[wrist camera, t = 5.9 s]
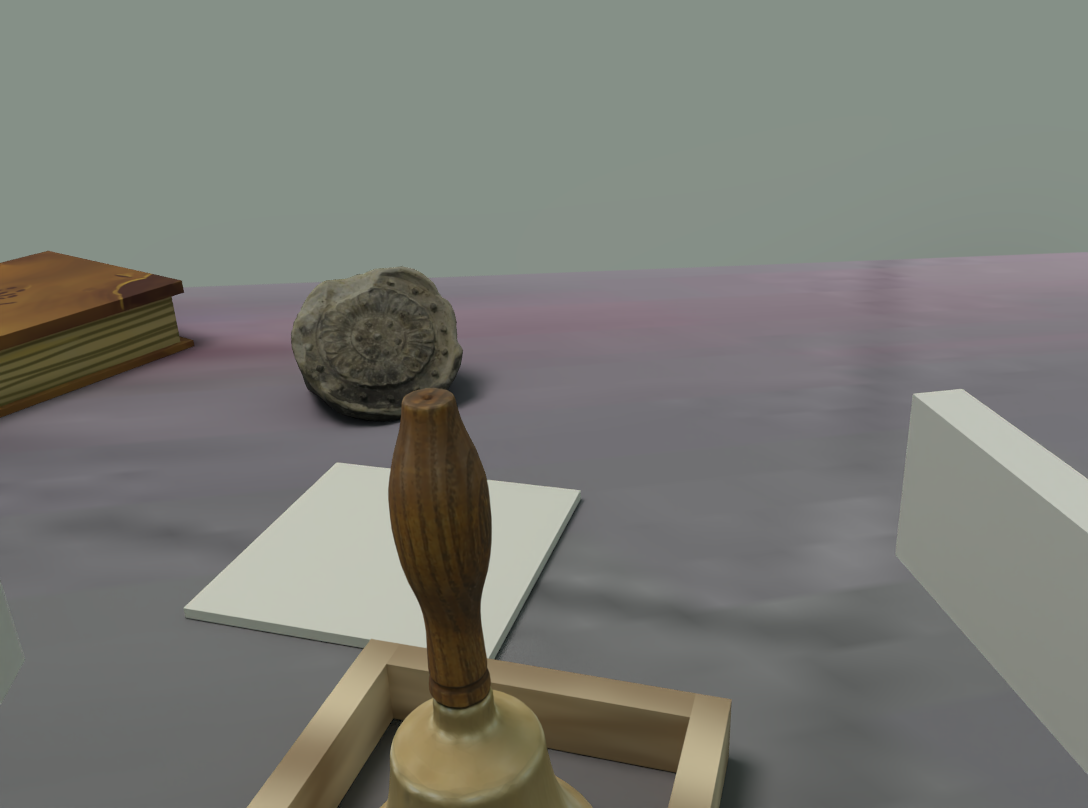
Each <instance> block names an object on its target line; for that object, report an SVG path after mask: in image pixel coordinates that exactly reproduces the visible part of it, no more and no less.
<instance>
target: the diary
mask: <svg viewBox="0 0 1088 808" xmlns="http://www.w3.org/2000/svg"><path fill="white" fill-rule="evenodd" d="M181 293H184V290H183V285H182V281H181V280H177V279H172V278H167V277H163V276H159V275H154V274H150V273H145V272H141V271H136V270H132V269H127V268H123V267H118V266H114V265H109V264H104V263H100V262H96V261H91V260H87V259H82V258H78V257H73V256H69V255H64V254H59V253H55V252H50V251H46V252H42V253H38V254H34V255H30V256H26V257H22V258H18V259H14V260H10V261H6V262H2V263H0V418H1V417H3V416H6V415H9V414H11V413H14V412H17V411H19V410H22V409H25V408H28V407H30V406H33V405H36V404H38V403H41V402H44V401H47V400H49V399H52V398H55V397H57V396H60V395H63V394H65V393H68V392H71V391H74V390H76V389H79V388H82V387H84V386H87V385H90V384H93V383H95V382H98V381H101V380H103V379H106V378H109V377H111V376H114V375H117V374H120V373H122V372H125V371H128V370H130V369H133V368H136V367H139V366H141V365H144V364H147V363H149V362H152V361H155V360H158V359H160V358H163V357H166V356H168V355H171V354H174V353H176V352H179V351H182V350H185V349H187V348H190V347H193V346H194V342H193V340H191V339H187V338H183V337H180V336H179V332H178V327H177V322H176V317H175V312H174V307H173V302H172V297H171V296H174V295H177V294H181Z"/></svg>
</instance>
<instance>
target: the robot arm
mask: <svg viewBox="0 0 1088 808" xmlns="http://www.w3.org/2000/svg"><path fill="white" fill-rule="evenodd" d="M895 555H896V556H897V557H898V558H899V560H900V561H901V562H902V563H903V564H904V565H905V566H906V568H907V569H908V570H909V571H910V572H911V573H912V574H913V576H914V577H915V578H916V579H917V580H918V581H919V582H920V584H921V585H922V586H923V587H924V588H925V589H926V590H927V592H928V593H929V594H930V595H931V596H932V597H933V598H934V600H935V601H936V602H937V603H938V604H939V605H940V606H941V608H942V609H943V610H944V611H945V612H946V613H947V614H948V616H949V617H950V618H951V619H952V620H953V621H954V622H955V624H956V625H957V626H958V627H959V628H960V629H961V630H962V632H963V633H964V634H965V635H966V636H967V637H968V638H969V640H970V641H971V642H972V643H973V644H974V645H975V646H976V648H977V649H978V650H979V651H980V652H981V653H982V654H983V656H984V657H985V658H986V659H987V660H988V661H989V662H990V664H991V665H992V666H993V667H994V668H995V669H996V670H997V672H998V673H999V674H1000V675H1001V676H1002V677H1003V678H1004V680H1005V681H1006V682H1007V683H1008V684H1009V685H1010V686H1011V688H1012V689H1013V690H1014V691H1015V692H1016V693H1017V694H1018V696H1019V697H1020V698H1021V699H1022V700H1023V701H1024V702H1025V704H1026V705H1027V706H1028V707H1029V708H1030V709H1031V710H1032V712H1033V713H1034V714H1035V715H1036V716H1037V717H1038V718H1039V720H1040V721H1041V722H1042V723H1043V724H1044V725H1045V726H1046V728H1047V729H1048V730H1049V731H1050V732H1051V733H1052V734H1053V736H1054V737H1055V738H1056V739H1057V740H1058V741H1059V742H1060V744H1061V745H1062V746H1063V747H1064V748H1065V749H1066V750H1067V752H1068V753H1069V754H1070V755H1071V756H1072V757H1073V758H1074V760H1075V761H1076V762H1077V763H1078V764H1079V765H1080V766H1081V768H1082V769H1083V770H1084V771H1085V772H1086V773H1087V774H1088V479H1087V478H1086V477H1084V476H1083V475H1081V474H1080V473H1079V472H1077V471H1076V470H1074V469H1073V468H1072V467H1070V466H1069V465H1067V464H1066V463H1065V462H1063V461H1062V460H1061V459H1059V458H1058V457H1056V456H1055V455H1054V454H1052V453H1051V452H1049V451H1048V450H1047V449H1045V448H1044V447H1042V446H1041V445H1040V444H1038V443H1037V442H1035V441H1034V440H1033V439H1031V438H1030V437H1028V436H1027V435H1026V434H1024V433H1023V432H1021V431H1020V430H1019V429H1017V428H1016V427H1015V426H1013V425H1012V424H1010V423H1009V422H1008V421H1006V420H1005V419H1003V418H1002V417H1001V416H999V415H998V414H996V413H995V412H994V411H992V410H991V409H989V408H988V407H987V406H985V405H984V404H982V403H981V402H980V401H978V400H977V399H976V398H974V397H973V396H971V395H970V394H969V393H967V392H966V391H964V390H963V389H956V390H947V391H937V392H927V393H917V394H913V398H912V407H911V416H910V425H909V434H908V443H907V452H906V461H905V471H904V480H903V489H902V498H901V507H900V516H899V525H898V534H897V543H896V552H895ZM24 661H25V658H24V654H23V651H22V648H21V645H20V642H19V639H18V635H17V632H16V629H15V626H14V623H13V619H12V616H11V613H10V610H9V607H8V603H7V600H6V597H5V594H4V591H3V587H2V584H1V581H0V705H1V703H2V701H3V700H4V698H5V696H6V694H7V692H8V690H9V689H10V687H11V685H12V683H13V681H14V679H15V677H16V676H17V674H18V672H19V670H20V668H21V666H22V664H23V663H24Z"/></svg>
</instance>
